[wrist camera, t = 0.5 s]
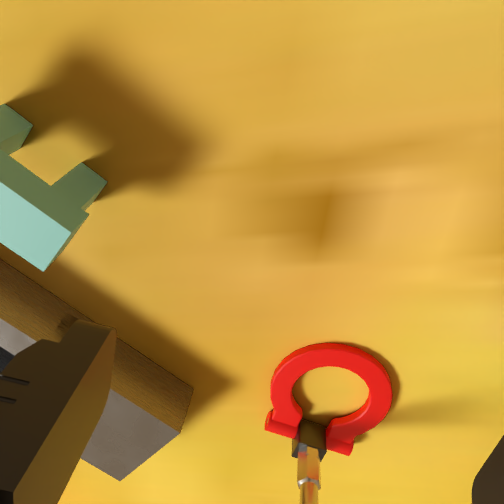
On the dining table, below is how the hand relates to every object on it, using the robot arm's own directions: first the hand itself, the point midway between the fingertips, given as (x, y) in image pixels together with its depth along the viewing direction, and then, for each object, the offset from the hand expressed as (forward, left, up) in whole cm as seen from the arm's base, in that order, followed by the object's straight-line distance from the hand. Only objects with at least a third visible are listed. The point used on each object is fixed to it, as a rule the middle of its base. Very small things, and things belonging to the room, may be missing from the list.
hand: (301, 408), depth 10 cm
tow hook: (+13, +13, -19) cm, 26 cm away
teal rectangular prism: (+11, -11, -18) cm, 24 cm away
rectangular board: (+24, -4, -18) cm, 30 cm away
